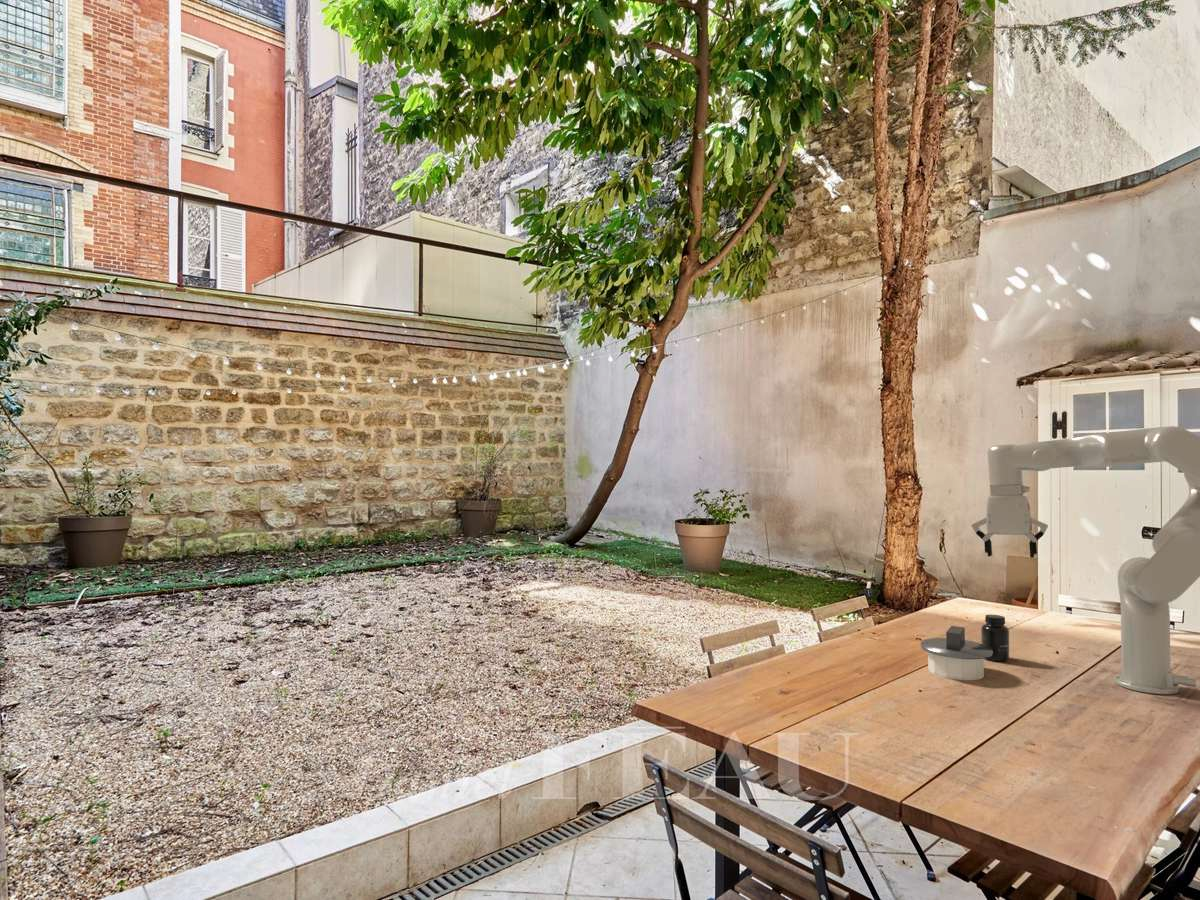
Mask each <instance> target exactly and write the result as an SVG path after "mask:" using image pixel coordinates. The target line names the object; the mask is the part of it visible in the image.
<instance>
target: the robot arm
mask: <svg viewBox="0 0 1200 900" xmlns="http://www.w3.org/2000/svg"><path fill="white" fill-rule="evenodd" d="M987 461H988V463H987V464H988V475H989V476H988V477H989V478H988V479H989V490H990V491H989V492H990V496H987V499H986V500H987V501H986V512H985V513H986V516H985V517H984V518H982V519H981V520H978V521H976V522H974V523H973V524H971V527H972V529H973V531H974V533H975V534H976V536H978V537H979V538H980V539H981V540H982V541H983V542H984V553H985V554H986V553H987V557H992V556H993V549H992V546H993V545H992V540H991V537H992V536H994V535H1007V536H1009V535H1010V536H1016V535H1017V536H1018V535H1019V536H1026V538H1028V539H1029V544H1028V545H1029V557H1030V558H1032V559H1034V558H1035V555H1037V554H1038V549H1037V548H1038V545H1037V542H1038V540H1040V539H1041V538H1042V537H1043V536H1044V535H1045V533H1046V531H1047V529H1048V527H1049V525H1048V524H1046V523H1045V522H1042V521H1040V520H1037V519H1035V518H1033V517H1032V513H1031V507H1030V503H1029V498H1028V496H1027V495H1024V494H1025V493H1027V492H1028V493H1029V492H1030V486H1026V485H1024V484H1023V483H1024V481H1023V480H1024V479H1023V471H1030V472H1045V471H1048V470H1050V469H1060V468H1074V467H1075V468H1079V467H1085V468H1086V467H1087V468H1103V467H1104V468H1106V467H1117V466H1128V465H1130V466H1131V465H1140V464H1141V465H1142V464H1150V463H1151V464H1152V463H1163V462H1166V463H1168V464H1169V465H1171V466H1172V467H1174V468H1176V469H1178V471H1180V472H1182V473H1183V475H1184V479H1185V481H1186V482H1187V485H1188V496H1187V499H1186V500H1185V502H1184V503H1183V505H1182V506H1181V507H1180V508H1179V510H1177V511H1176V513H1174V515H1173V516H1172V517H1171V518H1170V519H1169V520H1168V521H1167V522H1166V523H1164V525H1163V526H1162V528H1160V529H1159V530H1158V531H1157V532H1156V533H1155V535H1154V536H1153V538H1152V541H1151V542H1152V543H1151V544H1152V549H1153V551H1154V552H1155V553H1154V554H1153V555H1152V556H1151V557H1150V558H1149V557H1143V556H1142V557H1141V556H1139V557H1132V558H1129V559H1127V560H1125V561H1124V562H1123V563H1122V564H1121V565H1120V567H1119V569H1118V572H1117V586H1118V593H1119V601H1120V644H1121V645H1120V650H1121V651H1120V652H1121V653H1120V654H1121V656H1120V657H1121V658H1120V659H1121V660H1120V661H1121V662H1120V663H1121V673H1118V674H1115V675H1114V677H1113V681H1114V683H1115V684H1116V685H1118V686H1121V687H1123V688H1126V689H1128V690H1132V691H1137V692H1141V693H1146V694H1154V695H1155V694H1156V695H1175V694H1178V693H1179V692H1180V686H1179V685H1181V686H1187V687H1191V688H1196V687H1197V679H1196V678H1192V677H1189V676H1187V675H1183V674H1182V675H1178V674H1176V673H1173V670H1172V668H1171V615H1170V604H1169V603H1171V602H1173V601H1175V600H1177V599H1179V598H1180V597H1181V596H1183V594H1184V593H1185V592H1186V591H1187V590H1189V588H1190V587H1191V586H1192V585H1194V584H1195V582H1196V581H1197V580H1198V579H1199V578H1200V436H1198V435H1197V434H1195V433H1193V432H1191V431H1190V430H1187V429H1186V428H1183V427H1180V426H1173V425H1172V426H1160V427H1158V426H1157V427H1149V428H1140V429H1131V430H1129V429H1128V430H1122V431H1121V430H1120V431H1112V432H1110V431H1109V432H1103V433H1102V432H1101V433H1095V434H1089V435H1088V434H1087V435H1084V436H1079V437H1072V438H1061V439H1053V440H1046V441H1045V440H1043V441H1034V442H1029V443H1026V444H996V445H995V444H994V445H990V446H989V447H988V450H987ZM983 525H986V531H987V533H984V532H983V531H982V530H981V529H980V527H981V526H983ZM1033 525H1034V526H1037V527H1038V528H1039V531H1038V532H1037V533H1036V534H1034V533H1033V532H1032V530H1033Z"/></svg>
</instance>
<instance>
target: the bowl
mask: <svg viewBox="0 0 1200 900" xmlns="http://www.w3.org/2000/svg"><path fill="white" fill-rule="evenodd" d="M984 660H985V659H957V658H949V657H944V656H939V655H935V654H932V653H929V652H927V663H928V664H927V666H928V668H927V669H928V671H929V672H930V673H931V674H933V675H935V676H938V677H940V676H941V677H940V678H944V679H948V678H949V679H948V680H955V681H977V680H978V681H979V680H982V679H983V678H984V677H985V666H984V665H985V664H984V662H985V661H984Z"/></svg>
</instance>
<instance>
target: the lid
mask: <svg viewBox="0 0 1200 900" xmlns="http://www.w3.org/2000/svg"><path fill="white" fill-rule="evenodd" d="M965 629H966V627H965V626H957V625H951V626H950V627H949V628H948V629H947V631H946V632H945V635H946V637H933V638H927V639H924V640H921V642H920V648H921V649H922V650H923V651H925V652H927V653H928V652H929V653H932V654H935V655H939V656H944V657H949V658H957V659H984V658H988V657H991V656H992V655H993V650H992V649H991V648H990V647H988V646H986V645H984V644H981V642H977V641H971V640H967V639H966V630H965ZM984 660H985V659H984Z"/></svg>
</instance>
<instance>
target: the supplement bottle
mask: <svg viewBox="0 0 1200 900" xmlns="http://www.w3.org/2000/svg"><path fill="white" fill-rule="evenodd" d="M984 618H985V619H984V624H983V625H982V626H981V628H980V629H981V632H980V634H981V638H980V639H981V641H980V643H981V644H984V645H986V646H988V647H990V648H991V649H992V650H993V655H992V656H991V657H988V658H984V660H987V661H990V662H995V663H1004V662H1005V663H1006V662H1008V661H1009V660H1010V630H1009V628H1008V627H1007V626H1006V625H1005V624H1006V618H1005V616H1002V615H999V614H986V615H985V617H984Z"/></svg>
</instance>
